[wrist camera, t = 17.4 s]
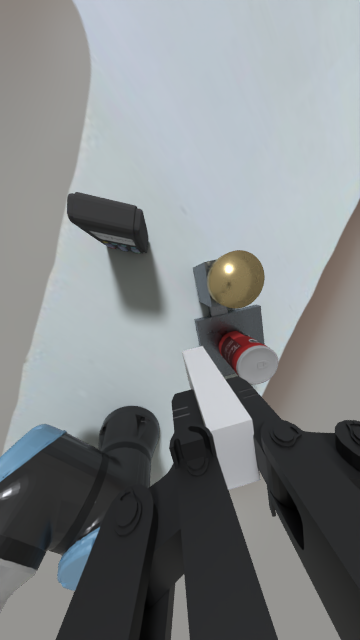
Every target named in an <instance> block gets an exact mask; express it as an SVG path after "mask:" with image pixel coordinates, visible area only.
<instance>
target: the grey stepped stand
mask: <svg viewBox="0 0 360 640" xmlns="http://www.w3.org/2000/svg"><path fill="white" fill-rule="evenodd" d="M215 261H216V260H213V261H208V262H204V263H202V264H200V265H198V266H196V267H193V271H194V276H195V281H196V287H197V292H198V297H199V302H201V303H203V304H205V305H207V306H208V307H209V313H210V316H207V317H203V318H199V319H194V320H195V325H196V330H197V335H198V340H199V345H200V346H203V348H204V349H205V350H206V352H207V353H208V355H209V356H210V358H211V359H212V361H213V362H214V364H215V365H216V367H217V368H218V370H219V371H220V373H221V374H222V376H227V375H231V374H234V373H236V372H235V371H234V370H233V369H232V368H231V366H230V365H229V364H228V363H227V362H226V360H225V359H224V358H223V357H222V356H221V354H220V352H219V342H220V340H221V338H222V337H223V336H224V335H225V334H227V333H229V332H232V331H240V332H243V333H245V334H247V335H248V336H250V337H252V338H253V339H255V340H257V341H259V342H260V343H262V344H264V336H263V326H262V316H261V306H259V305H253V306H249V307H245V308H241V309H236V310H232V311H228V310H227V307H225V306H223V305H220V304H219V303H217V302H216V301H215V300H214V299H213V298H212V297H211V295H210V293H209V291H208V288H207V275H208V272H209V269H210V267H211V266H212V264H213V263H214V262H215Z"/></svg>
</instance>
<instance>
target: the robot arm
mask: <svg viewBox="0 0 360 640" xmlns="http://www.w3.org/2000/svg"><path fill="white" fill-rule="evenodd" d="M182 354H183V358H184V362H185V367H186V371H187V375H188V380H189V384H190V388H191V390H188V391H184V392H180V393H177V394H175V395H174V397H173V400H172V411H173V421H174V434H173V436H172V438H171V440H170V447H169V449H170V452H171V456H172V459H173V462H174V463H173V465H172V467H171V469H170V470H169V472H168V473H167V474H166V475H165V476H164V477H163V478H162V479H160V480H159V481H158V482H156V483H155V484H154V485H152V486H151V487H150V470H151V458H152V456H153V453H154V450H155V447H156V445H157V442H158V438H159V424H158V421H157V419H156V417H155V416H154V415H153V414H152V413H151V412H150V411H149V410H147V409H145V408H142V407H138V406H126V407H122V408H119V409H117V410H115V411H113V412H112V413H111V414H109V415H108V416H107V418H106V419H105V421H104V423H103V425H102V428H101V430H100V434H99V450H98V449H96V448H95V447H93V446H91V445H89V444H87V443H85V442H83V441H81V440H79V439H77V438H75V437H73V436H72V435H70V434H68V433H66V431H65V430H64V431H62V430H60V429H57V428H55V427H53V426H50V425H48V424H42V425H38V426H36V427H34V428H33V429H31V430H30V431H29V432H28V433H26V434H25V435H24V436H23V437H22V438H21V439H20V440H18V441H17V442H16V443H15V444H14V445H13V446H12V447H11V448H10V449H9V450H8V451H7V452H5V453H4V454H3V455H2V456H1V457H0V612H1V611H2V609H3V607H4V605H5V603H6V601H7V599H8V598H9V597H10V596H11V595H12V593H13V592H14V591H15V590H17V589H18V588H19V587H20V586H22V585H23V584H24V583H25V582H27V581H28V580H29V579H30V578H31V577H33V576H34V575H35V573H36V571H37V570H38V568H39V566H40V563H41V562H42V559H43V557H44V556H45V553H46V551H47V550H49V551H52V552H55V553H58V554H61V555H62V558H61V560H60V562H59V564H58V565H59V566H58V575H57V576H58V581H59V583H61V584H62V586H63V587H64V588H66V589H70V590H74V591H75V592H74V595H73V597H72V600H71V602H70V605H69V608H68V610H67V613H66V615H65V617H64V620H63V622H62V625H61V628H60V630H59V633H58V635H57V638H56V640H171V629H172V617H173V604H174V591H175V583H176V581H177V580H178V579H179V578H180V577H181V576H182V575H183V574H184V575H185V586H186V598H187V609H188V622H189V633H190V640H278V638H277V635H276V632H275V629H274V626H273V623H272V620H271V617H270V614H269V611H268V608H267V605H266V602H265V599H264V596H263V593H262V590H261V587H260V584H259V581H258V578H257V575H256V572H255V569H254V566H253V563H252V560H251V557H250V554H249V551H248V548H247V545H246V542H245V539H244V536H243V533H242V530H241V527H240V524H239V521H238V518H237V515H236V512H235V509H234V506H233V503H232V500H231V497H230V494H229V491H228V490H230V489H233V488H236V487H239V486H243V485H246V484H249V483H252V482H255V481H259V480H260V474H259V471H260V472H261V474H262V476H263V478H264V480H265V482H266V484H267V490H268V498H269V506H270V510H271V513H272V516H276V512H277V514H278V516H279V518H280V520H281V522H282V524H283V526H284V528H285V530H286V531H287V534H288V536H289V538H290V540H291V542H292V544H293V546H294V548H295V550H296V552H297V553H298V556H299V557H300V559H301V561H302V563H303V565H304V567H305V569H306V571H307V573H308V575H309V577H310V579H311V581H312V583H313V585H314V587H315V589H316V591H317V593H318V595H319V597H320V599H321V601H322V603H323V605H324V607H325V609H326V611H327V613H328V615H329V616H330V618H331V620H332V623H333V625H334V626H335V628H336V630H337V632H338V634H339V636H340V638H341V640H360V422H359V421H355V420H353V421H352V420H344V421H342V422H339V423H338V424H337V425H336V427H335V433H315V432H305V431H302V430H301V429H299V428H298V427H297V426H296V425H294V424H292V423H290V422H288V421H284V420H281V418H280V417H279V416H278V415H277V414H276V413H275V412H274V410H273V409H272V408H271V407H270V406H269V405H268V404H267V403H266V402H265V401H264V399H263V398H262V397H261V396H260V395H259V394H258V393H257V391H256V390H255V389H253V387H252V386H251V385H250V384H249V383H248V381H246V380H244V379H243V378H241V377H239V376H238V377H234V378H230V379H227V380H225V379H224V377H223V376H222V374H221V373H220V371H219V370H218V368H217V367H216V365H215V364H214V362H213V361H212V359H211V358H210V356H209V355H208V353H207V352H206V350H205V349H204V348H203V346H200V347H196V348H192V349H188V350H184V351H182ZM275 510H276V512H275Z"/></svg>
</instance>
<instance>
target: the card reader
mask: <svg viewBox="0 0 360 640" xmlns="http://www.w3.org/2000/svg"><path fill="white" fill-rule="evenodd" d="M67 214H68V217H69V219H70V221H71V222H72V223H74V224H75V225H76V226H78V227H79V228H81V229H82V230H84V231H85V232H87V233H88V234H89V235H91V236H92V237H94V238H95V239H97V240H98V241H100V242H101V243H103V244H104V245H106V246H108V247H109V248H113V249H116V248H118V249H121V250H123V251H133V252H134V253H139V254H140V253H143V252H144V253H146V252H147V247H148V233H147V228H146V223H145V219H144V215H143V211H142V210H141V209H137V207H136V206H134V205H130V204H126V203H122V202H117V201H113V200H109V199H105V198H100V197H96V196H92V195H88V194H83V193H79V192H76V193H75V194H73V193H71V194H69V195H68V198H67Z"/></svg>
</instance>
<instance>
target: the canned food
mask: <svg viewBox="0 0 360 640" xmlns="http://www.w3.org/2000/svg"><path fill="white" fill-rule="evenodd" d="M219 352H220V354H221V356H222V357H223V358H224V359H225V360H226V362H227V363H228V364H229V365H230V366H231V368H232V369H233V370H234V371H235V372H236V373H237V375H238V376H239V377H241V378H243V379H244V380H246V381H248V383H249V384H260V383H263V382H265V381H267V380H269V379H270V378H271V377H272V376H273V375H274V373H275V372H276V370H277V367H278V357H277V355H276V353H275V352H274V351H273V350H272V349H270V348H269V347H267V346H266V345H264V344H262V343H260V342H259V341H257V340H255V339H253V338H252V337H250V336H248V335H247V334H245V333H243V332H240V331H232V332H229V333H227V334H225V335H224V336H223V337H222V338H221V340H220V342H219Z"/></svg>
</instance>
